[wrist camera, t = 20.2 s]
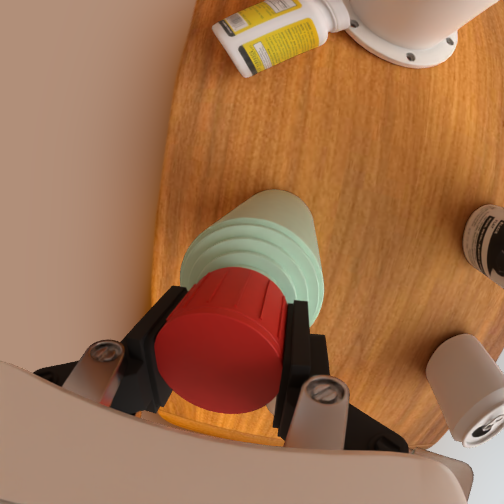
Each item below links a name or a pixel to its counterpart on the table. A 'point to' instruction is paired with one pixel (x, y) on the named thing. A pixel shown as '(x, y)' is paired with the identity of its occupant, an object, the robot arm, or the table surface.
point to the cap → (225, 342)
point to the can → (467, 389)
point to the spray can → (486, 242)
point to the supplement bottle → (278, 31)
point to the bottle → (263, 247)
